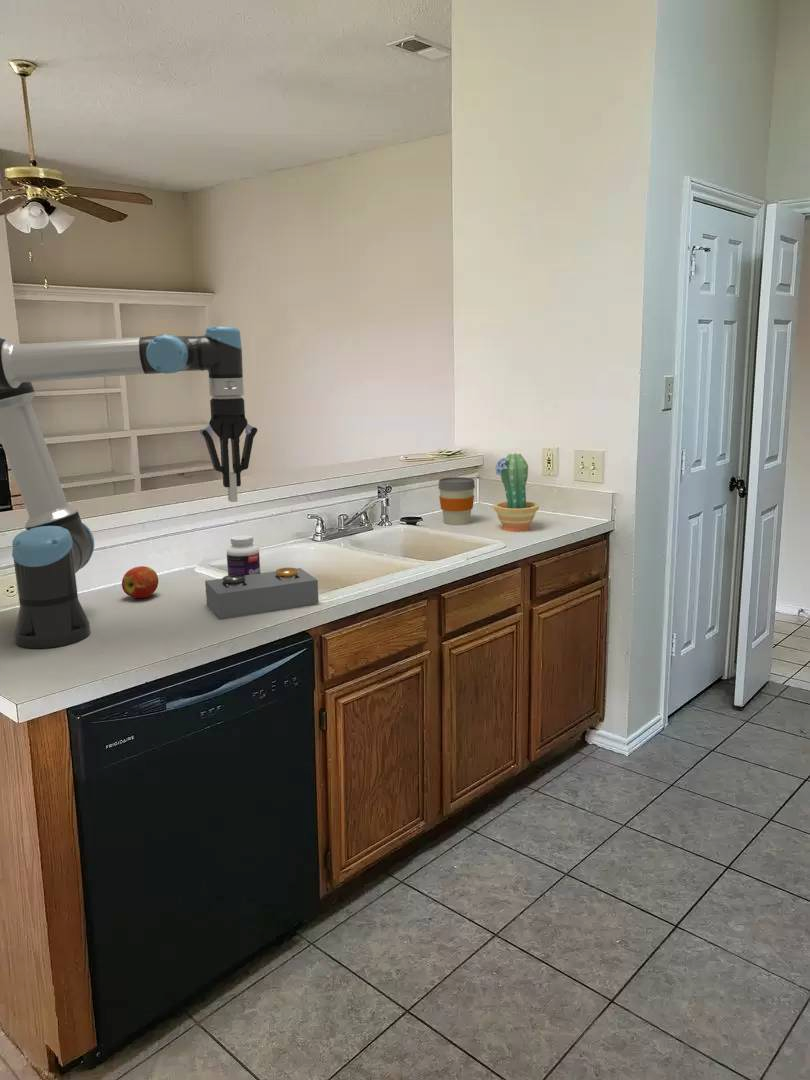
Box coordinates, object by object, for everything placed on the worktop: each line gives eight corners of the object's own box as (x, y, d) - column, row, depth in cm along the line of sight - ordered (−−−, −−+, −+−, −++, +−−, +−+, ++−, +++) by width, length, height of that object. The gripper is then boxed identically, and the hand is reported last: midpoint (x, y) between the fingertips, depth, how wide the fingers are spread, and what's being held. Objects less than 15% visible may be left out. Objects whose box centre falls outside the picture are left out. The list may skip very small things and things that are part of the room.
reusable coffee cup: (477, 519, 298) (477, 477, 294) (471, 526, 286) (471, 483, 282) (442, 518, 301) (442, 476, 297) (435, 525, 289) (434, 482, 285)
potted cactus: (499, 522, 291) (499, 450, 286) (543, 525, 286) (544, 451, 280) (487, 532, 277) (487, 456, 271) (533, 534, 272) (534, 457, 266)
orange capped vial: (281, 604, 203) (279, 574, 201) (275, 598, 207) (273, 569, 206) (301, 601, 205) (300, 571, 203) (295, 595, 209) (293, 566, 208)
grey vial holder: (219, 619, 193) (217, 594, 191) (206, 604, 204) (205, 580, 203) (318, 603, 203) (317, 579, 201) (301, 590, 214) (300, 567, 213)
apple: (118, 600, 210) (115, 569, 208) (142, 591, 217) (139, 561, 215) (142, 603, 206) (139, 572, 204) (166, 594, 214) (163, 564, 212)
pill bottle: (254, 597, 209) (251, 541, 206) (224, 596, 210) (220, 540, 207) (266, 588, 217) (262, 534, 213) (236, 587, 218) (233, 533, 215)
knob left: (227, 612, 197) (225, 581, 196) (222, 606, 202) (220, 576, 200) (249, 609, 199) (247, 578, 198) (243, 603, 204) (241, 573, 202)
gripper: (201, 399, 183) (208, 506, 188) (260, 397, 188) (265, 501, 194) (194, 397, 190) (201, 500, 195) (250, 395, 195) (255, 496, 200)
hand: (232, 500), depth 194 cm, fingers closed
